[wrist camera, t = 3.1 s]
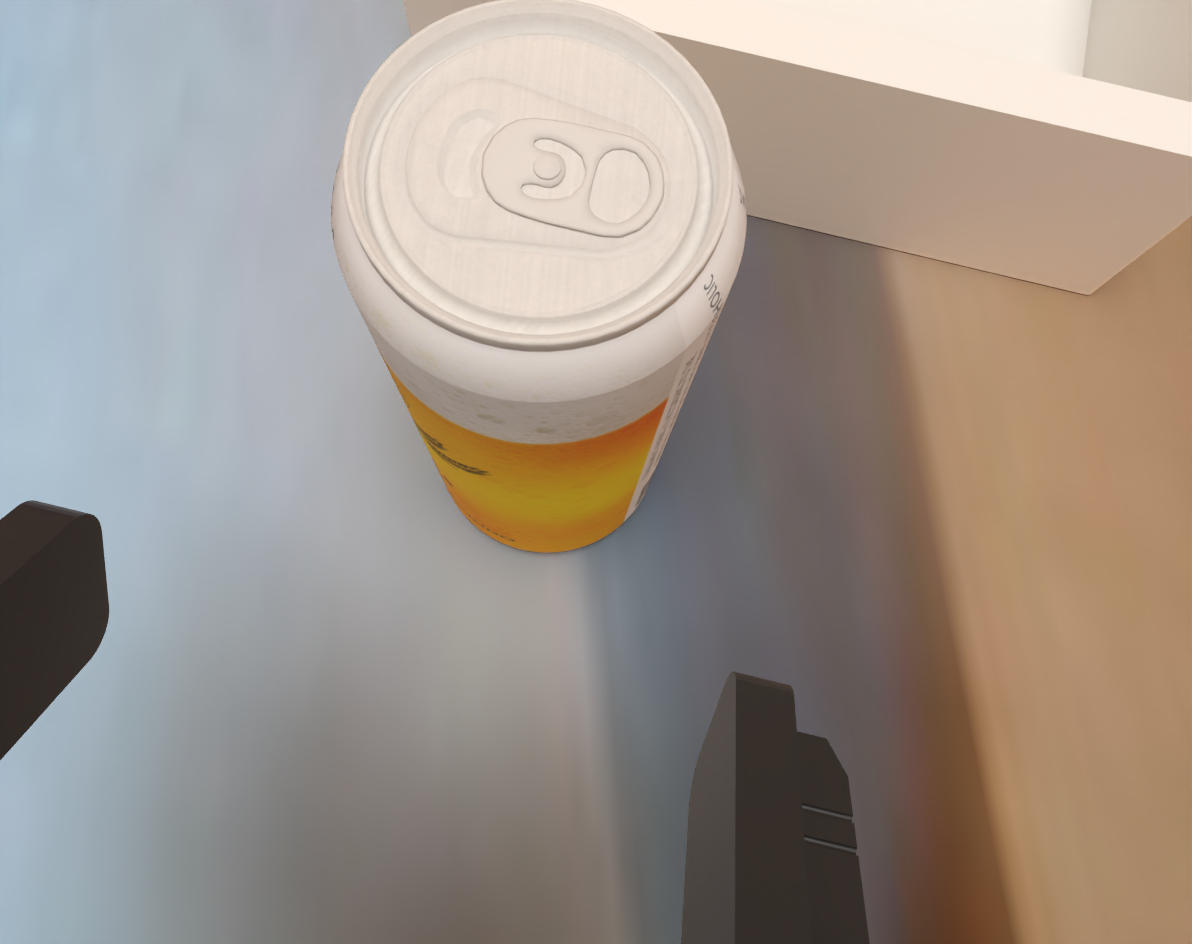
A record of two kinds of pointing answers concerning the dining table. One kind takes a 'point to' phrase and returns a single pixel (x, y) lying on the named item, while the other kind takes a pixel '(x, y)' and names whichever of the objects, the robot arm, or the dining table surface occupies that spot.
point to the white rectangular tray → (949, 121)
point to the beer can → (540, 254)
